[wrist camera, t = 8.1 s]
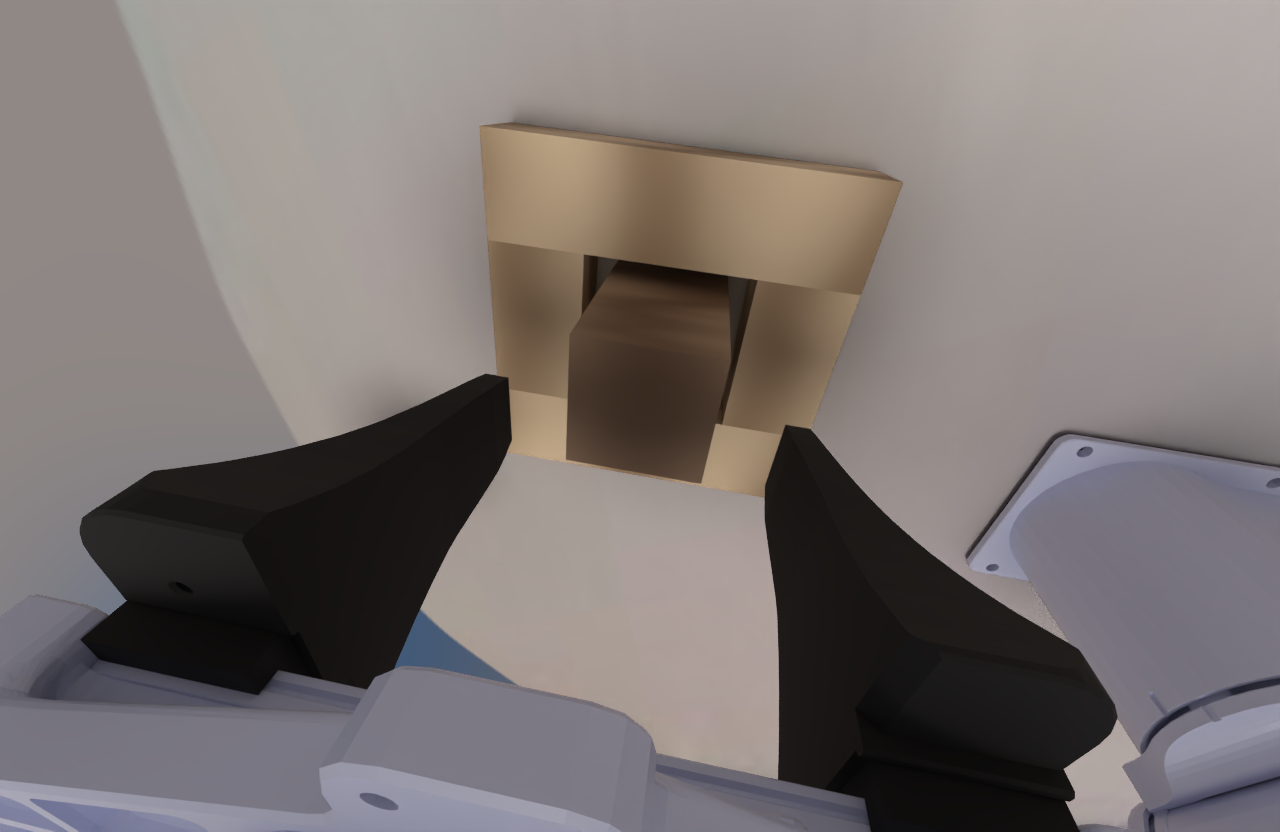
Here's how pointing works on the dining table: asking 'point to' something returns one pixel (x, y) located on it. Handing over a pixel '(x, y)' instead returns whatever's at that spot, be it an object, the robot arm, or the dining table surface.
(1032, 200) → the dining table surface
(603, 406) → the walnut peg
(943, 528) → the dining table surface
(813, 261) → the oak socket block
